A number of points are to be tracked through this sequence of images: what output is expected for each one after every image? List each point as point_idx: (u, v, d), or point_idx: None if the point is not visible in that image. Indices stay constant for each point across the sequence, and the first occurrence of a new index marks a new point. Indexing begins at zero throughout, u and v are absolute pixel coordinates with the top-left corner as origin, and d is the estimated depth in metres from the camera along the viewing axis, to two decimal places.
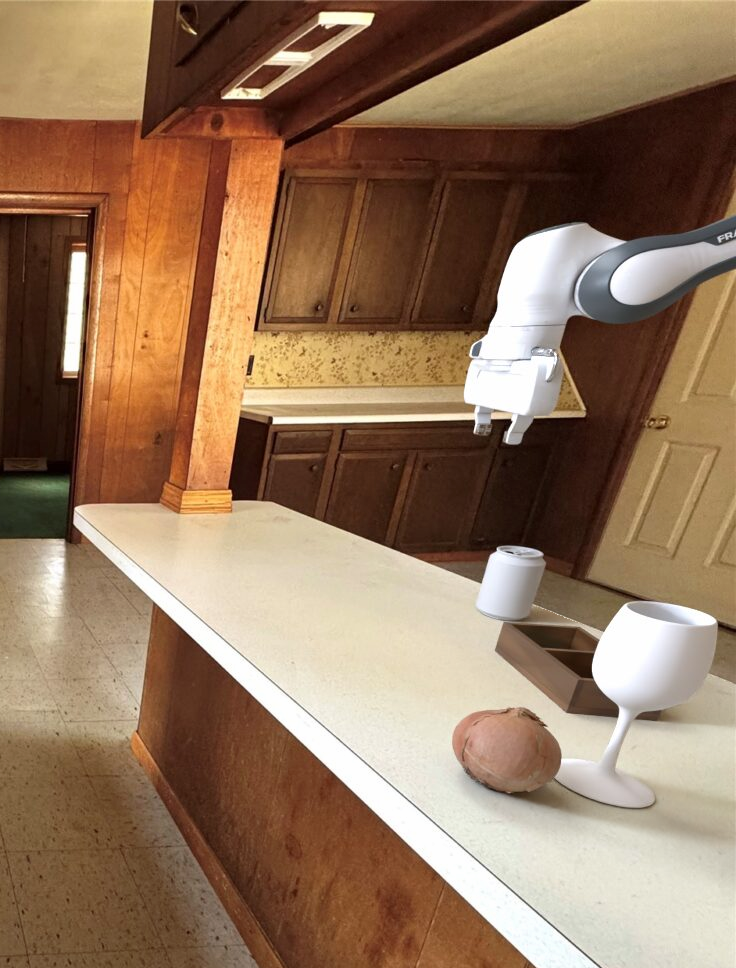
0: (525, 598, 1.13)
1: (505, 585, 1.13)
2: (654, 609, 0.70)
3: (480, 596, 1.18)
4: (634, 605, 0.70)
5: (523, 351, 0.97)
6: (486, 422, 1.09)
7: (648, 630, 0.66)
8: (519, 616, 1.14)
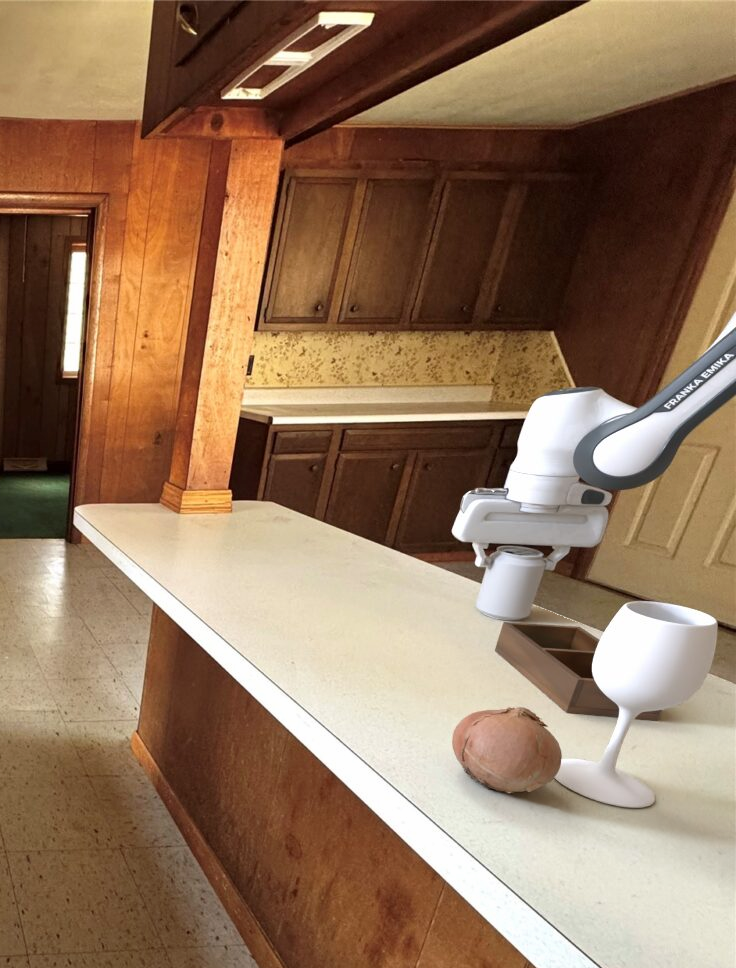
0: (525, 598, 1.13)
1: (505, 585, 1.13)
2: (654, 609, 0.70)
3: (480, 596, 1.18)
4: (634, 605, 0.70)
5: None
6: (551, 559, 1.12)
7: (648, 630, 0.66)
8: (519, 616, 1.14)
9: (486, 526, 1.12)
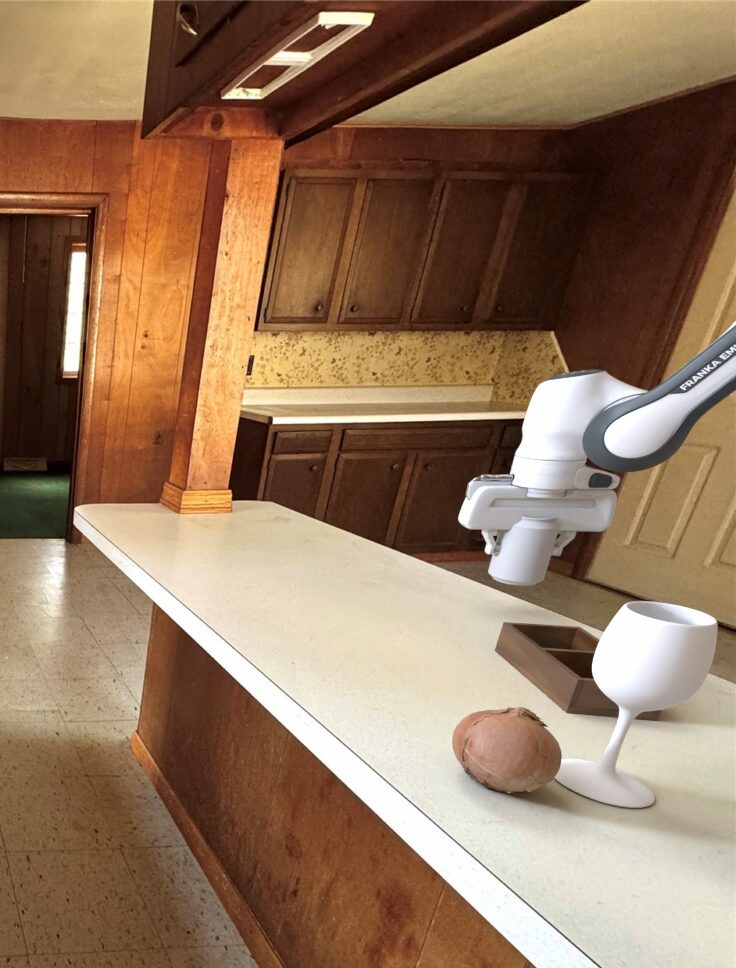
0: (538, 562, 1.10)
1: (518, 549, 1.11)
2: (654, 609, 0.70)
3: (492, 562, 1.15)
4: (634, 605, 0.70)
5: None
6: (557, 544, 1.11)
7: (648, 630, 0.66)
8: (533, 581, 1.11)
9: (492, 512, 1.11)
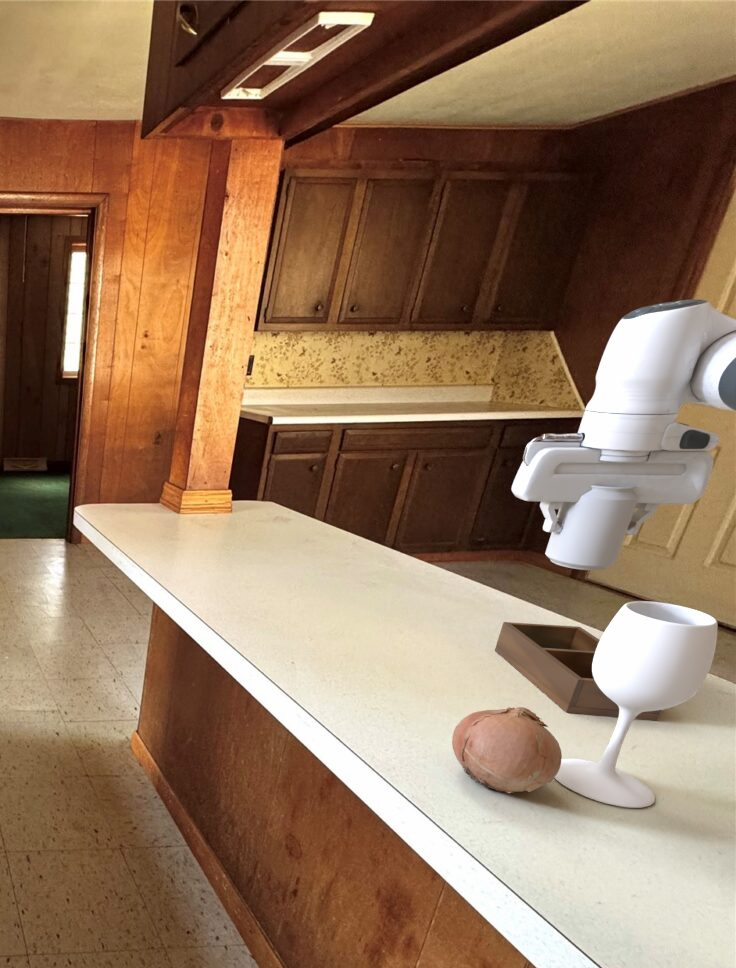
0: (611, 541, 0.90)
1: (586, 525, 0.91)
2: (654, 609, 0.70)
3: (552, 542, 0.95)
4: (634, 605, 0.70)
5: None
6: (634, 520, 0.91)
7: (648, 630, 0.66)
8: (603, 564, 0.92)
9: (556, 480, 0.91)
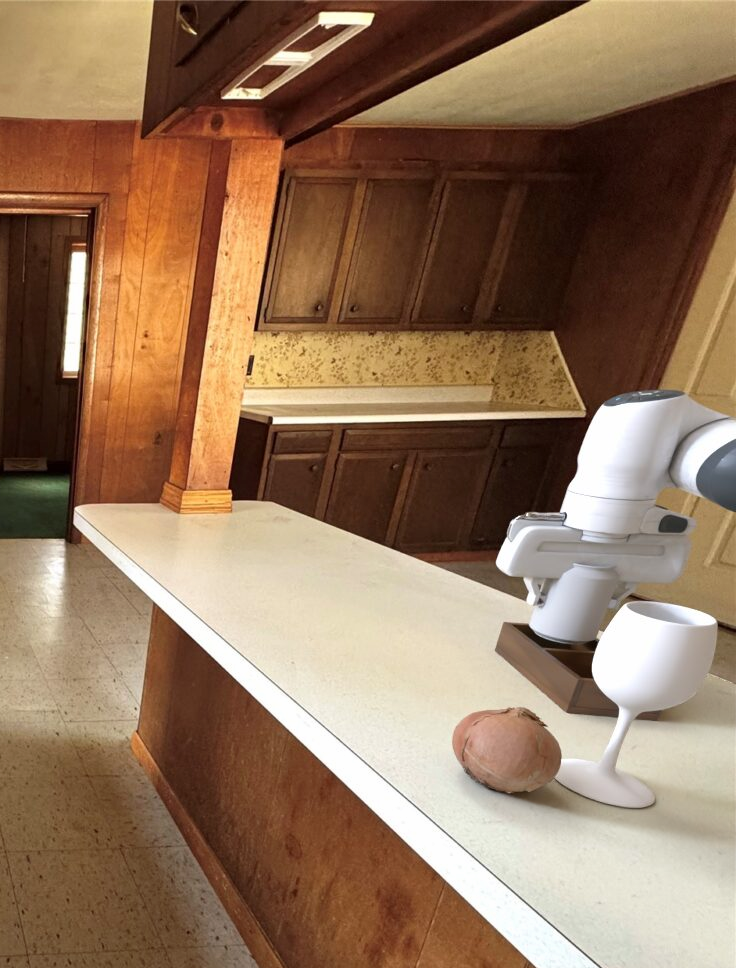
0: (593, 618, 0.92)
1: (568, 601, 0.93)
2: (654, 609, 0.70)
3: (535, 614, 0.97)
4: (634, 605, 0.70)
5: None
6: (615, 596, 0.93)
7: (648, 630, 0.66)
8: (585, 639, 0.94)
9: (539, 558, 0.93)
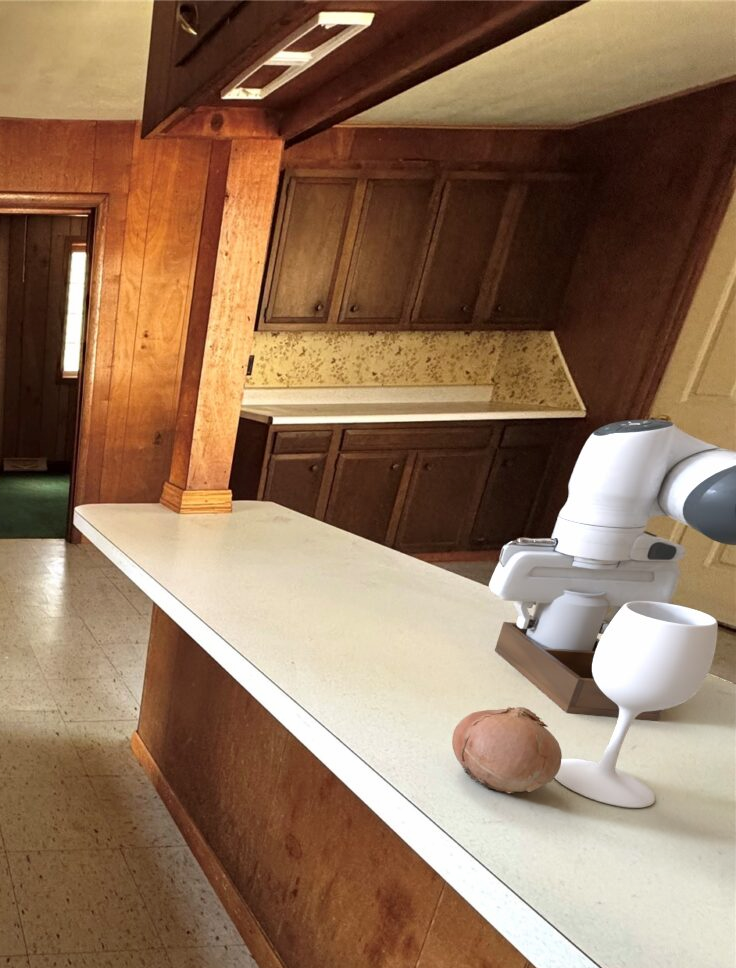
0: (584, 644, 0.94)
1: (560, 627, 0.94)
2: (654, 609, 0.70)
3: None
4: (634, 605, 0.70)
5: None
6: (609, 621, 0.95)
7: (648, 630, 0.66)
8: None
9: (530, 582, 0.94)
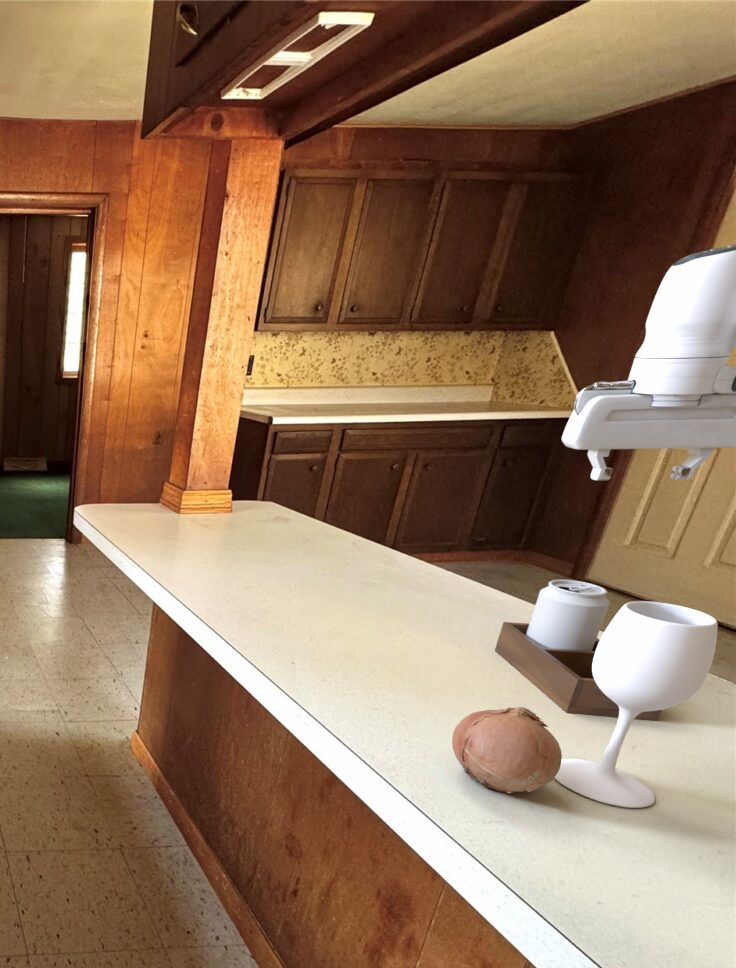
0: (584, 644, 0.94)
1: (560, 627, 0.94)
2: (654, 609, 0.70)
3: None
4: (634, 605, 0.70)
5: None
6: (688, 466, 0.93)
7: (648, 630, 0.66)
8: None
9: (608, 428, 0.93)
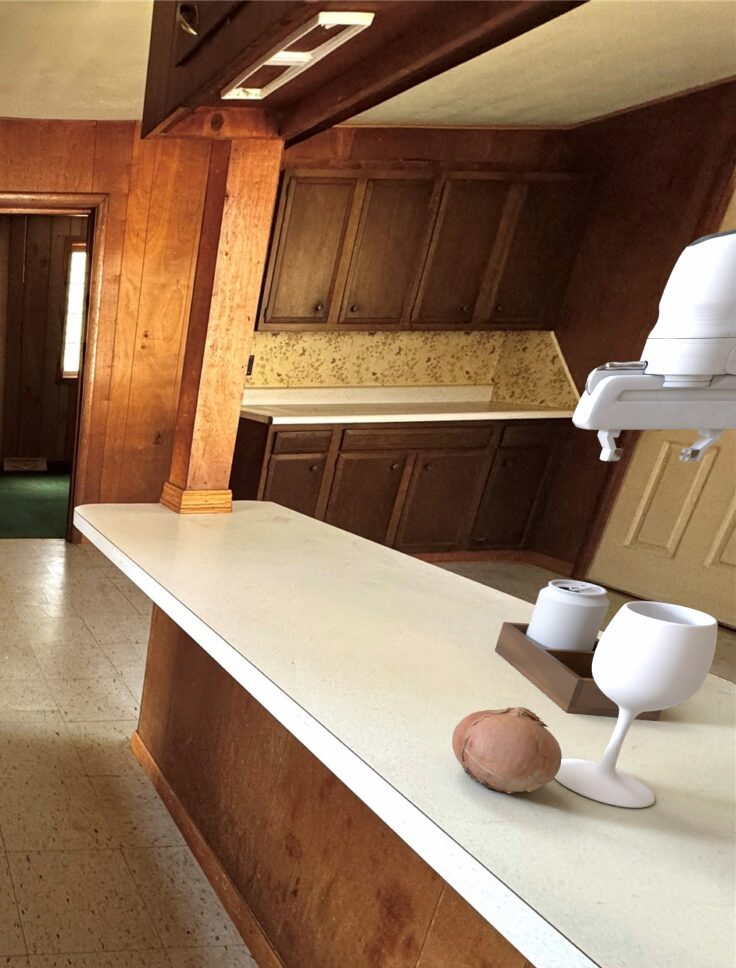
0: (584, 644, 0.94)
1: (560, 627, 0.94)
2: (654, 609, 0.70)
3: None
4: (634, 605, 0.70)
5: None
6: (697, 447, 0.94)
7: (648, 630, 0.66)
8: None
9: (618, 408, 0.93)
